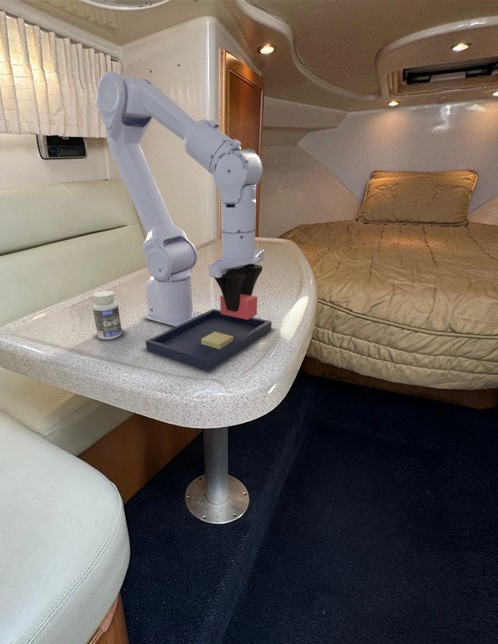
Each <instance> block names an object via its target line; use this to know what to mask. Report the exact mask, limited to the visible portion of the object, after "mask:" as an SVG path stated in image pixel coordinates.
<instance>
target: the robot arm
mask: <svg viewBox="0 0 498 644" xmlns="http://www.w3.org/2000/svg"><path fill="white" fill-rule="evenodd" d="M94 104H95V107H96V110H97V112H98V114H99V116H100V118H101V121H102V123H103V125H104V129H105V135H106V141H107V145H108V149H109V151H110V153H111V155H112V158H113V160H114V162H115V165H116V167H117V170H118V171H119V174H120V176H121V178H122V180H123V183H124V185H125V187H126V190H127V192H128V194H129V196H130V198H131V201H132V203H133V206H134V208H135V210H136V212H137V214H138V217H139V219H140V222H141V223H142V226H143V228H144V231H145V233H146V237H145V240H144V242H143V243H142V246H141V249H142V250H143V253H144V256H145V265H146V268H147V271H148V272H149V274H150V277H149V279H148V280H147V282H146V285H145V295H146V304H147V305H146V306H147V312H148V313H147V314H148V315H146V316H145V319H147V320H150V321H154V322H158V323H162V324H166V325H168V326H172V327H176V326H178V325H180V324H182V323H185V322H187V321H189V320H191V319H193V318H195V317H197V316H199V315H201V314H203V313H202V312H198V311H194V305H193V303H194V302H193V286H192V283H193V282H192V274H193V268H194V267H195V266H196V264H197V261H198V252H197V248H196V247H195V244H193V242H192V241H190V240H189V239H188V237H187V235H186V233H185V231H184V230H183V229H181V227H179V226H177V225H176V224H175V223H173V220H172V217H171V215H170V213H169V211H168V209H167V206H166V204H165V202H164V201H165V200H164V198H163V196H162V194H161V192H160V190H159V187H158V185H157V183H156V180H155V178H154V175H153V173H152V171H151V169H150V168H151V167H150V166H149V164H148V161H147V159H146V156H145V155H144V152H143V150H142V147H141V141H142V139H143V138H144V136H145V134H146V132H147V130H148V128H149V126H150V125H151V122H152V120H153V119H154V120H155V121H157V122H158V123H159V124H161V125H162V126H163V127H164V128H166V129H167V130H168V131H170V132H171V133H173V134H174V135H175V136H177V137H178V138H180V139H181V140H182V141H183V144H184V152H185V153H186V154H187V155H188V156H190V158H192V159H193V160H194V161H195V162H196V163H198V164H199V165H200V166H201V167H203V168H204V169H205V170H206V171H207V172H209V174H211V175H212V177H213V181H214V183H215V186H216V187H217V188H218V190H219V200H220V226H221V228H220V229H221V233H220V234H221V235H220V237H221V257H220V258H218V259H217V260H216V261H214V262H213V263H211V264H208V277H210V278H214V280H215V281H216V283H217V285H218V287H219V288H220V291H221V294H222V295H223V297H224V300H225V304H226V308H227V310H231V311H238V309H239V304H240V294H244V295H250V296H253V292H254V288H255V286H256V283H257V282H258V278H259V277H260V275H261V273H262V271H263V265H261V264H259V263H261V262H264V260H265V249H256V223H257V219H256V218H257V185H258V184H259V182H260V181H261V178H262V176H263V171H264V166H263V162H262V159H261V158H260V156H259V155H258V154H257V153H256V151H255V150H253V149H248V148H247V149H242V148H241V144H242V143H241V141H239V140H238V139H236V138H233V139H232V138H231V137H230V136H228V135H227V134H225V132H224V131H222V130H221V129H219V127H220V123H219V122H218V121H217V120H215V119H209V120H208V119H206V118H204V119H203V118H202V119H199V120H197V121H196V120H195V119H194V118H193V117H191V116H190V115H189V114H188V113H187V112H186V111H185V110H184V109H183V108H182V107H181V106H180V105H178V104H177V103H176V102H175V100H173V99H172V98H171V97H170V96H168V94H166V93H165V92H164V91H163V90H162V88H161V87H160V86H158V85H155V84H154V83H152V82H151V81H150V80H149V79H145V78H142V79H141V78H136V77H132V76H128V75H124V74H119V73H117V72H115V71H112V70H111V71H110V70H109V71H106V72H104V73H103V74H102V75H101V77H100V79H99V80H98V84H97V90H96V95H95V103H94Z"/></svg>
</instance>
